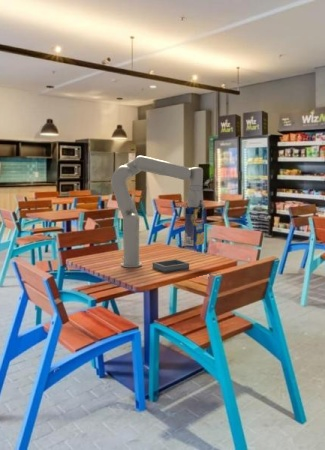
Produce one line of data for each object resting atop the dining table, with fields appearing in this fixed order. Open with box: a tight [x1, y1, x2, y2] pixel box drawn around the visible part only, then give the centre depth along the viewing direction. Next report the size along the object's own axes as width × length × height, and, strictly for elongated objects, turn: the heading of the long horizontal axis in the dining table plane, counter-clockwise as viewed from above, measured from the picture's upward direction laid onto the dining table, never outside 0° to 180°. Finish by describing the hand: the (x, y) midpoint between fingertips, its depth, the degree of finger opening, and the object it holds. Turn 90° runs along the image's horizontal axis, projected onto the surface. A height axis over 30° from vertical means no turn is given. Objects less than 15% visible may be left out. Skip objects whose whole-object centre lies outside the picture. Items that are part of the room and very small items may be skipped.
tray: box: [152, 259, 190, 274], centre depth 246 cm, size 13×17×4 cm
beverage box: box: [183, 207, 206, 247], centre depth 253 cm, size 7×11×22 cm, turn 143°
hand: (194, 217), depth 252 cm, fingers closed on beverage box, 8 cm apart
